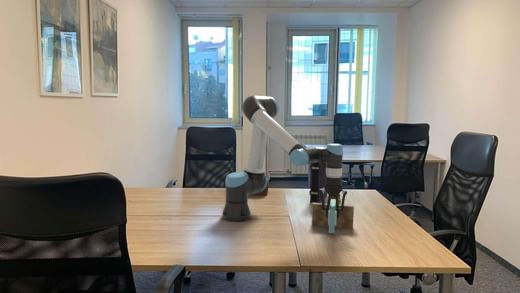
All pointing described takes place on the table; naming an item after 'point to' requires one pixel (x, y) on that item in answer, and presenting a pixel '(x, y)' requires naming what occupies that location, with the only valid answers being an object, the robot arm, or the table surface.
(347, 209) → the walnut plate
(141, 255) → the table surface
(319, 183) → the book
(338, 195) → the condiment
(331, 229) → the teal plate
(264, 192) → the letter holder
